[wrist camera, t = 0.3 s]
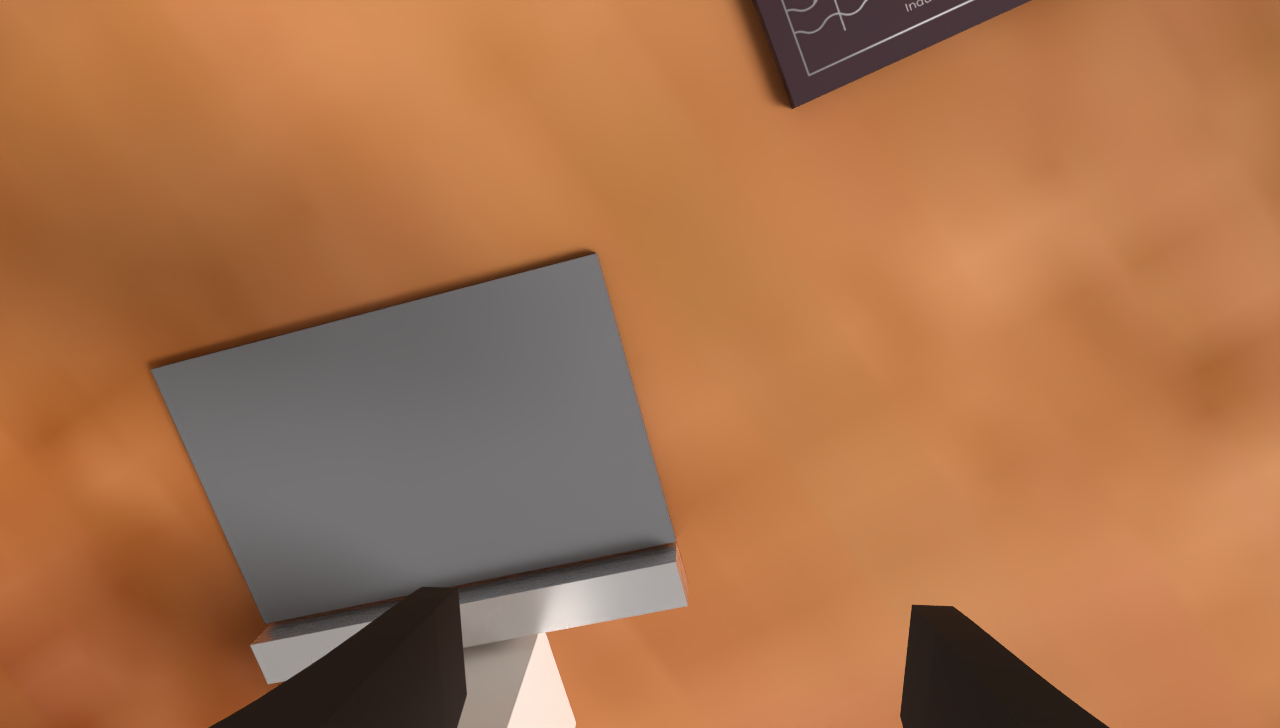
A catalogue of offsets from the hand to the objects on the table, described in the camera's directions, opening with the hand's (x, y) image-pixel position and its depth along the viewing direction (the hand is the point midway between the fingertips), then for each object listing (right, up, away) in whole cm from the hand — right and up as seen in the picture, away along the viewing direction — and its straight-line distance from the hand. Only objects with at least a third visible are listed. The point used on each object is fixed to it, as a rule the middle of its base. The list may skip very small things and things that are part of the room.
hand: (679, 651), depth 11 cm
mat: (-7, +2, +10) cm, 13 cm away
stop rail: (-6, -3, +12) cm, 14 cm away
